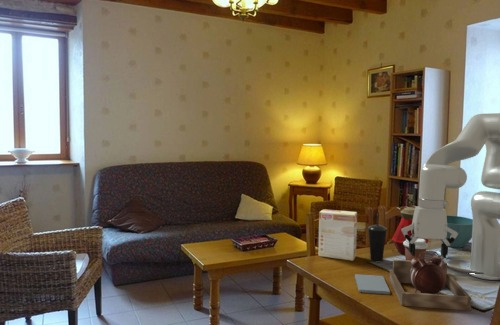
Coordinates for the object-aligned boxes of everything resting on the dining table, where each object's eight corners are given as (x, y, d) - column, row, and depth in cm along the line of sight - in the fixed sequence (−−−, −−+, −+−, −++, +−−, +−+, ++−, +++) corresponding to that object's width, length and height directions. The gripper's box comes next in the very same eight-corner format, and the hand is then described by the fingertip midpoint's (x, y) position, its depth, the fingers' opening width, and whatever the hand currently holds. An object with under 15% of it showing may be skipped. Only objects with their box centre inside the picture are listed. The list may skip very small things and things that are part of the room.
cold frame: (448, 284, 140) (449, 262, 139) (470, 310, 120) (472, 285, 120) (389, 281, 143) (390, 259, 142) (401, 305, 123) (402, 280, 123)
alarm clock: (439, 291, 134) (441, 248, 133) (446, 297, 129) (448, 253, 128) (407, 291, 134) (409, 248, 132) (413, 298, 129) (415, 253, 128)
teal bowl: (483, 251, 178) (485, 224, 177) (443, 250, 178) (444, 224, 177) (462, 239, 196) (464, 215, 195) (426, 239, 196) (427, 215, 195)
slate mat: (382, 278, 145) (382, 275, 145) (390, 294, 132) (390, 291, 132) (354, 276, 147) (354, 274, 147) (359, 292, 133) (359, 289, 133)
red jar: (412, 246, 184) (414, 204, 183) (435, 255, 172) (437, 210, 170) (384, 250, 179) (386, 206, 177) (406, 259, 166) (408, 212, 164)
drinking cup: (364, 257, 169) (365, 211, 168) (381, 256, 170) (383, 210, 168) (371, 263, 162) (372, 215, 160) (389, 262, 162) (391, 214, 161)
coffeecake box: (356, 256, 171) (357, 211, 169) (353, 261, 164) (354, 215, 162) (322, 251, 177) (322, 208, 175) (317, 256, 170) (318, 211, 168)
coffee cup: (397, 266, 159) (398, 236, 158) (417, 264, 160) (418, 235, 159) (411, 274, 150) (412, 243, 149) (432, 272, 152) (433, 242, 151)
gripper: (455, 203, 131) (451, 254, 132) (400, 200, 134) (397, 250, 135) (463, 207, 124) (460, 261, 125) (406, 204, 126) (402, 257, 127)
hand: (427, 255), depth 130 cm, fingers open, 9 cm apart
